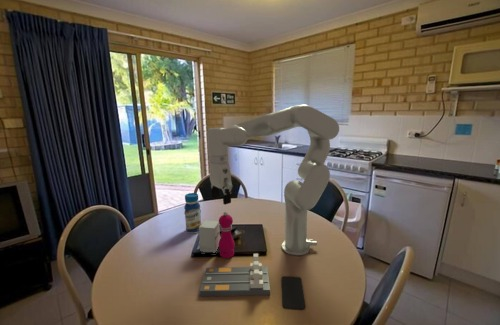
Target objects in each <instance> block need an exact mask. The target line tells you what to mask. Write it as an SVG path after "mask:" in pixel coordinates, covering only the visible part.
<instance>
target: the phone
mask: <svg viewBox="0 0 500 325" xmlns="http://www.w3.org/2000/svg"><path fill="white" fill-rule="evenodd" d="M305 300H306V299H305V295H304V287H303V280H302V278H301V277H300V276H291V275H290V276H289V275H288V276H287V275H283V276H282V277H281V304H282V305H281V306H282V308H284V309H287V310H300V311H301V310H303V311H304V310H306V301H305Z"/></svg>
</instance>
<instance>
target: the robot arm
mask: <svg viewBox="0 0 500 325" xmlns="http://www.w3.org/2000/svg"><path fill="white" fill-rule="evenodd" d="M294 128H295V129H296V128H302V129H305V130H306V131H307V134H308V135H309V136H308V137H309V140H310V142H309V147H308V149H307V150H306V151H307V152H306V153H305V155H304V157H303V159H302V161H301V162H300V165H299V166H298V169H297V175H298V176H299V178H301V179H302V180H303V182H302V181H300V180H294V179H293V180H291V181H289V182H287V184H285V187H284V190H283V193H284V194H283V196H284V204H285V205H284V206H285V215H284V216H285V217H284V218H285V219H284V221H285V222H284V224H285V225H284V226H285V228H284V229H285V230H284V232H285V234H284V236H285V237H284V241H283V242H282V243H281V250H282V251H283V252H285V253H286V254H288V255H292V256H304V255H306V254H308V253H309V252H310V249H311V248H310V247H311V246H315V247H316V246H318V242H317V240H314V239H313V238H309V239H308V238H307V233H308V228H307V227H308V211H310V210H312V209H313V208H314V207H315V206H316V205H317V203H318V202H319V201H320V198H321V196H322V195H323V193H324V191H325V190H326V187H327V186H328V183H329V182H330V178H331V177H330V176H331V171H330V170H329V167H328V166H327V165H325V162H326V160H327V158H328V156H329V155H330V149H331V143H330V142H331V141H330V140H333V139H334V138H336V137H337V136H338V135H339V132H340V126H339V123H338V121H337V120H336V119H334V118H333V117H331V116H330V115H327V114H325V113H324V112H322V111H320V110H319V109H317V108H314V107H313V106H310V105H308V104H295V105H292V106H289V107H286V108H283V109H281V110H277V111H274V112H271V113H268V114H264V115H261V116H258V117H256V118H253V119H249V120H246V121H243V122H242V121H241V122H239V123H237V124H232V125H231V126H229V127H227V128H226V127H210V128H208V129H207V132H206V136H207V149H208V164H209V176H208V177H209V184H210V189H211V198H212V199H216V198H219V197H220V190H222V193H223V194H222V201H223V203H222V204H223V205H228V204H231V203H232V191H233V183H232V172H231V168H230V164H229V153H228V152H229V151H228V150H229V149H228V146H229V147H240V146H244V145H245V144H246V143H247V141H248V140H249V139H253V138H257V137H267V136H274V135H276V134H279V133H282V132H283V133H284V132H285V131H289V130H292V129H294Z"/></svg>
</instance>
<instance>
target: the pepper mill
mask: <svg viewBox="0 0 500 325" xmlns="http://www.w3.org/2000/svg"><path fill="white" fill-rule="evenodd" d="M218 221H219V229H220V232H221V235H220V241H219V249H218V250H219V256H220V257H221V258H223V259H229V258H232V257H234V255H235V247H236V243H235V240H234V238H233V236H232V230H233V221H234V219H233V217H232V216H231V215H230V214H228V212H227V211H224V212H223V214H222V215H220V216H219V219H218Z"/></svg>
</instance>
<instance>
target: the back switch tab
mask: <svg viewBox="0 0 500 325" xmlns="http://www.w3.org/2000/svg"><path fill="white" fill-rule="evenodd" d="M254 261H259V253H253V262H250V265H249V267H250V270H254ZM262 267H263V264H262V262H259V270H262Z"/></svg>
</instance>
